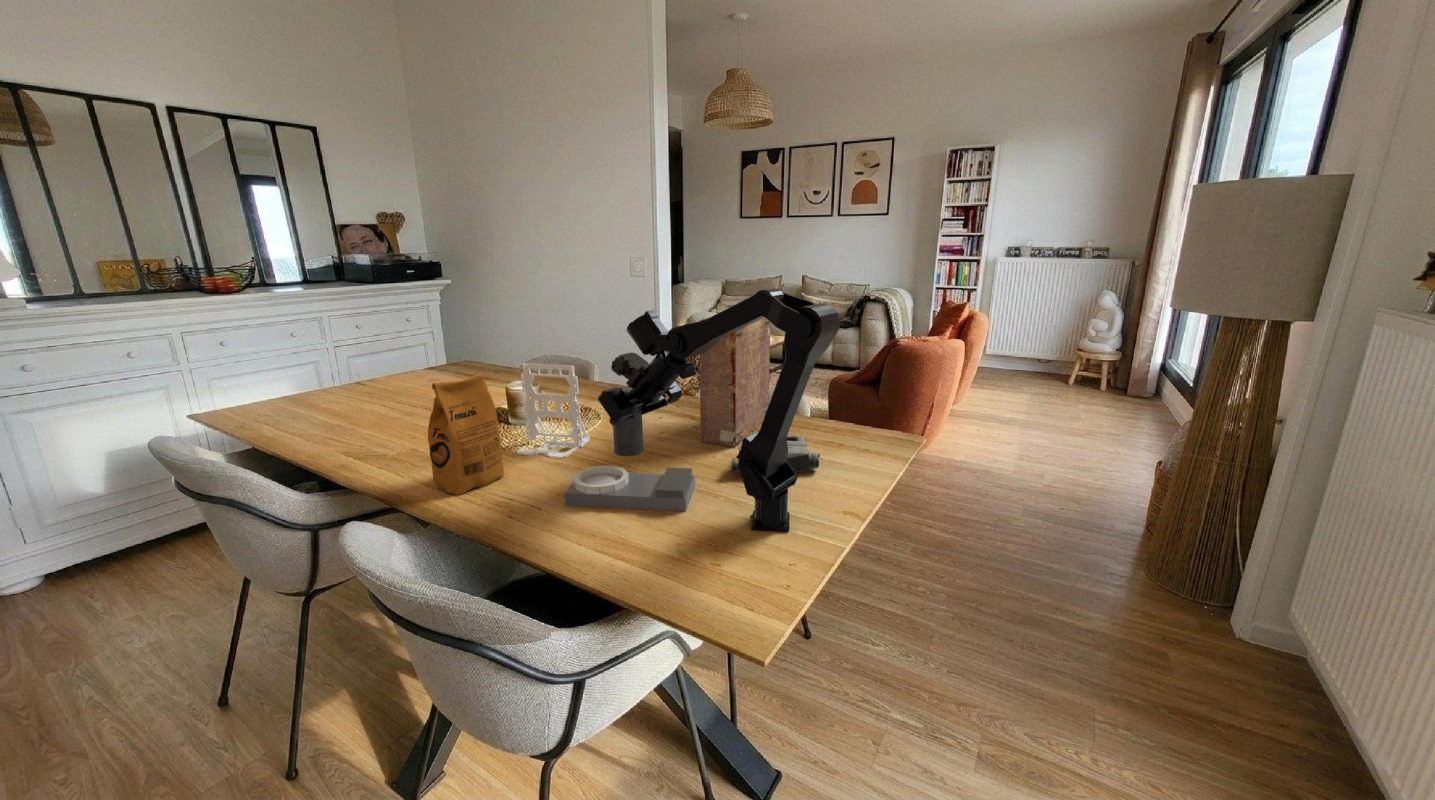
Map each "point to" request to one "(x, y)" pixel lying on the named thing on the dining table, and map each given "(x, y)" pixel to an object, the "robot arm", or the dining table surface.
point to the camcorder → (794, 455)
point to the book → (735, 384)
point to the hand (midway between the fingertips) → (622, 419)
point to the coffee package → (464, 436)
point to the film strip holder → (552, 412)
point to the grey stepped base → (631, 489)
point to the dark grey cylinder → (629, 433)
